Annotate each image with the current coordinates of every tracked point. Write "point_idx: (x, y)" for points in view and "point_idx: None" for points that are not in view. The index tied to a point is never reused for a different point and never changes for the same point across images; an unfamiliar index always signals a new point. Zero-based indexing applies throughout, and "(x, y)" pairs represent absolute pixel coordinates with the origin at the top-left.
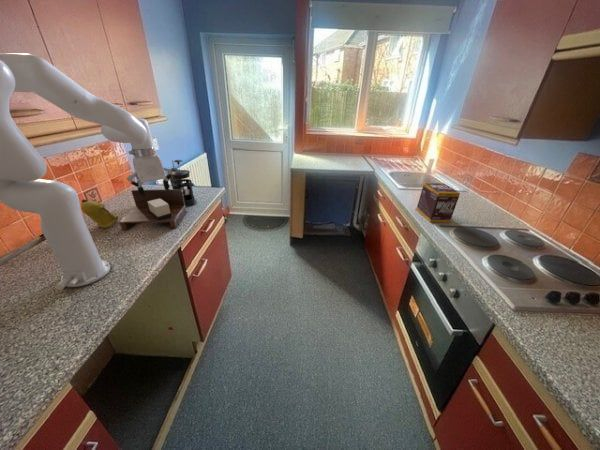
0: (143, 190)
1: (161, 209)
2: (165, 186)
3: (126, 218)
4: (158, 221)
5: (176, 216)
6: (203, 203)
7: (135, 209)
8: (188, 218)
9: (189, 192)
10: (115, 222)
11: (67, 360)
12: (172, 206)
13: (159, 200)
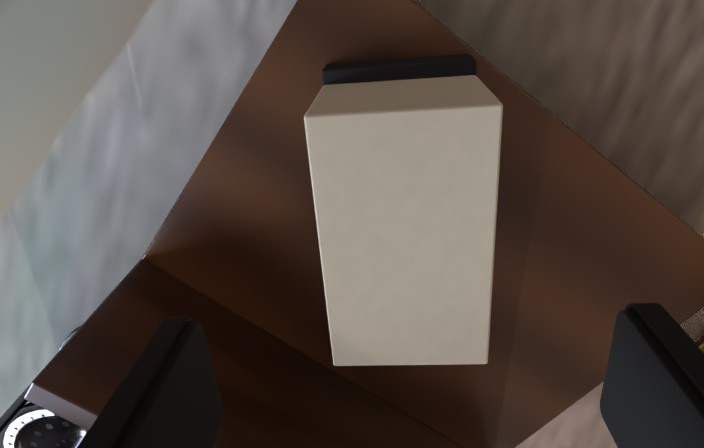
0: (695, 396)
1: (418, 95)
2: (185, 413)
3: (666, 303)
4: (477, 53)
5: (282, 34)
6: (5, 296)
7: (522, 419)
8: (183, 91)
9: (37, 436)
10: (701, 342)
11: None
12: (248, 298)
13: (362, 308)
